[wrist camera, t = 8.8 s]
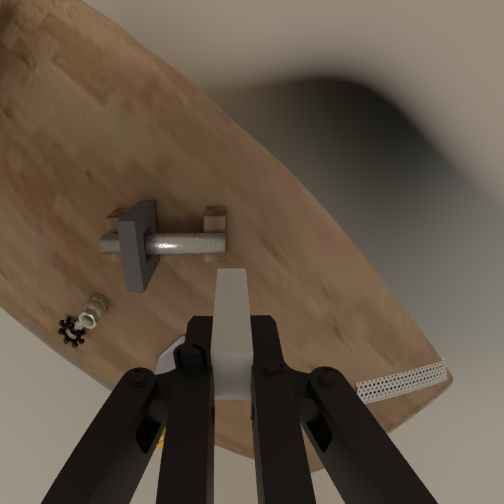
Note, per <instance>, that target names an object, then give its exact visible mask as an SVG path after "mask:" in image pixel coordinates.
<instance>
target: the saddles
mask: <svg viewBox="0 0 504 504" xmlns="http://www.w3.org/2000/svg"><path fill="white" fill-rule="evenodd" d="M130 209H132V208H129V209H116V210H115V211H114V212H112V213H111V214H110V215H109V216H107V217H106V218H105V220H106V227H107V234H118V228H117V221H118V220H119V219H120V218H121V217H122V216H124V215H125V214H126V213H127V212H128V211H129V210H130ZM204 233H225V255H205V262H226V207H207V208H206V211H205V214H204ZM111 260H112V261H122V256H121V254H111Z"/></svg>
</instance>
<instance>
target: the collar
mask: <svg viewBox="0 0 504 504" xmlns="http://www.w3.org/2000/svg"><path fill="white" fill-rule="evenodd" d="M117 228H118V235H119V243H120V250H121V256H122V262H123V268H124V274H125V280H126V285H127V290H128V292H138V293H144V292H145V290H146V288H147V286H148V283H149V281H150V279H151V277H152V275H153V273H154V271H155V269H156V267H157V265H158V263H159V261H160V259H159V255H147V254H145V249H144V240H143V234H144V233H157V227H156V214H155V201H140V202H138V203H137V204H136V205H135V206H134V207H133V208H132V209H130V210H129V211H128V212H127V213H126V214H125V215H124V216H122V217H121V218H120V219H119V220H118V221H117Z"/></svg>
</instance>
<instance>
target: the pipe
mask: <svg viewBox="0 0 504 504" xmlns="http://www.w3.org/2000/svg"><path fill="white" fill-rule="evenodd" d="M143 240H144V249H145V254H147V255H225V233H144V234H143ZM101 251H102V253H103V254H121V250H120V243H119V235H118V234H103V235H102V238H101Z"/></svg>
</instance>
